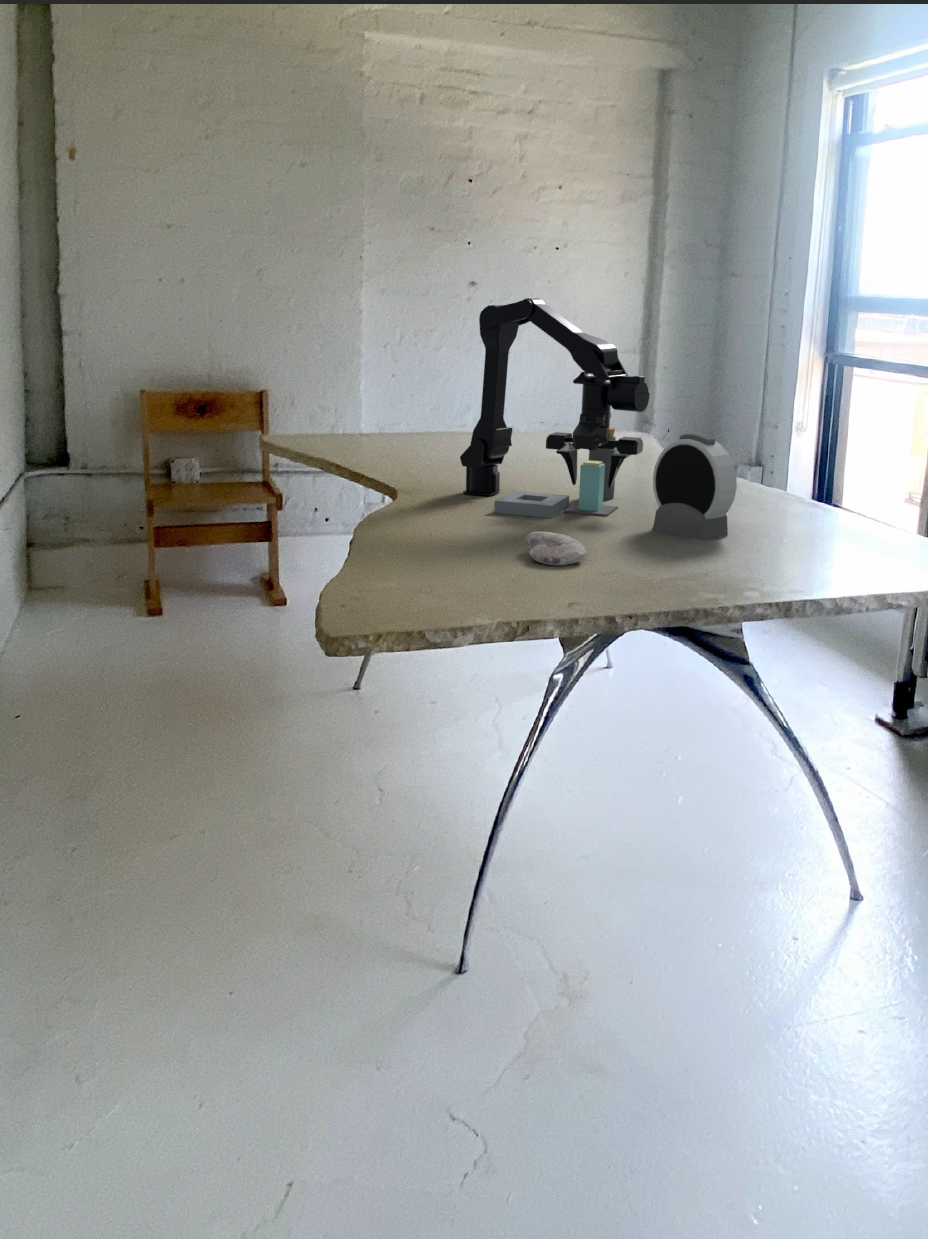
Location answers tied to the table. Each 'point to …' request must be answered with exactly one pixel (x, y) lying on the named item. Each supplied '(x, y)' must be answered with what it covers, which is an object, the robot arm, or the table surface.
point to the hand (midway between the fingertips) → (592, 486)
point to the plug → (591, 485)
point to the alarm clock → (694, 488)
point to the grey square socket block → (531, 504)
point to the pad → (602, 512)
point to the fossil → (555, 548)
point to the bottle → (606, 458)
